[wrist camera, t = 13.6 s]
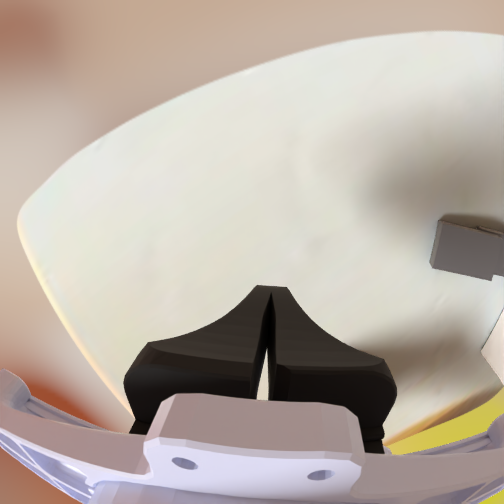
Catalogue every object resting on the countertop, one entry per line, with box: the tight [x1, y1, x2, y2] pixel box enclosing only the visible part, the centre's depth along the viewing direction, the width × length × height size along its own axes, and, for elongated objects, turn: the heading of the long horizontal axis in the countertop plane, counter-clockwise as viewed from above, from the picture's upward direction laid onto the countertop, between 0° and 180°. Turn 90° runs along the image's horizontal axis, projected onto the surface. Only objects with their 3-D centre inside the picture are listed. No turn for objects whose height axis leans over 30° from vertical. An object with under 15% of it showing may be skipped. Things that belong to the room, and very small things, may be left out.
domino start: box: [430, 220, 503, 281], centre depth 18 cm, size 4×2×6 cm
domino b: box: [477, 226, 504, 276], centre depth 18 cm, size 4×2×6 cm
